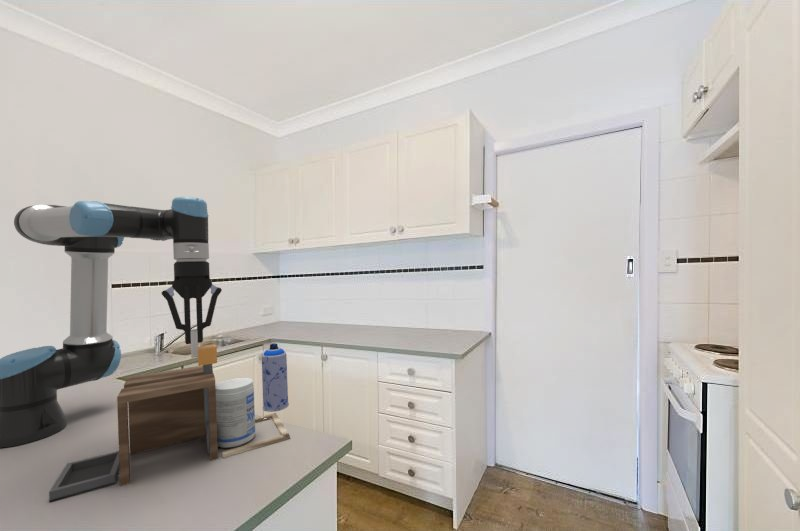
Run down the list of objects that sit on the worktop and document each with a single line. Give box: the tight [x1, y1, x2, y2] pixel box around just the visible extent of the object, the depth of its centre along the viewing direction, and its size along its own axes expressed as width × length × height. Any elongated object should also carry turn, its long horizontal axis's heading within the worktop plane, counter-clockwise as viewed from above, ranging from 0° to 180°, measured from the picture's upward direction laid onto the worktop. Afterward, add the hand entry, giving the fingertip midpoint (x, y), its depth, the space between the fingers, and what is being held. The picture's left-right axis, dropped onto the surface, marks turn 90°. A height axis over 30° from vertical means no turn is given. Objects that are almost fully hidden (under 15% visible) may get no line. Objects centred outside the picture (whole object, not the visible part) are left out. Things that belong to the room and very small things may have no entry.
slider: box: [197, 343, 218, 455], centre depth 88 cm, size 12×4×24 cm, turn 32°
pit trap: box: [48, 450, 120, 503], centre depth 75 cm, size 12×10×2 cm
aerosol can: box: [261, 343, 290, 413], centre depth 111 cm, size 8×8×20 cm
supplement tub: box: [215, 377, 256, 449], centre depth 90 cm, size 10×10×15 cm
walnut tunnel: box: [116, 365, 219, 487], centre depth 83 cm, size 16×18×18 cm
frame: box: [221, 412, 291, 459], centre depth 93 cm, size 17×16×1 cm
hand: (194, 356), depth 86 cm, fingers closed
